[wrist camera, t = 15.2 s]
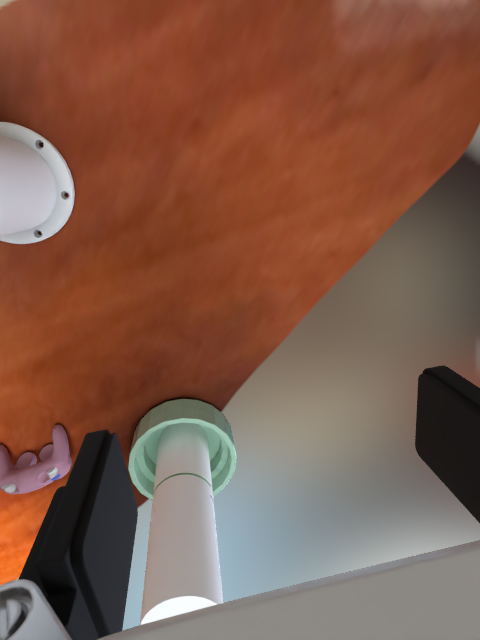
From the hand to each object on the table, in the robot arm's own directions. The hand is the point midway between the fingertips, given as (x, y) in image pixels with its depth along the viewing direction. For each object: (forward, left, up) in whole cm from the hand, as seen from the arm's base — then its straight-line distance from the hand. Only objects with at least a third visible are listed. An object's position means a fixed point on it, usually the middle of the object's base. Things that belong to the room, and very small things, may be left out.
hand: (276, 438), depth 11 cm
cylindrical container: (+1, -28, -38) cm, 47 cm away
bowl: (+1, -28, -38) cm, 47 cm away
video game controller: (-19, -31, -38) cm, 53 cm away
